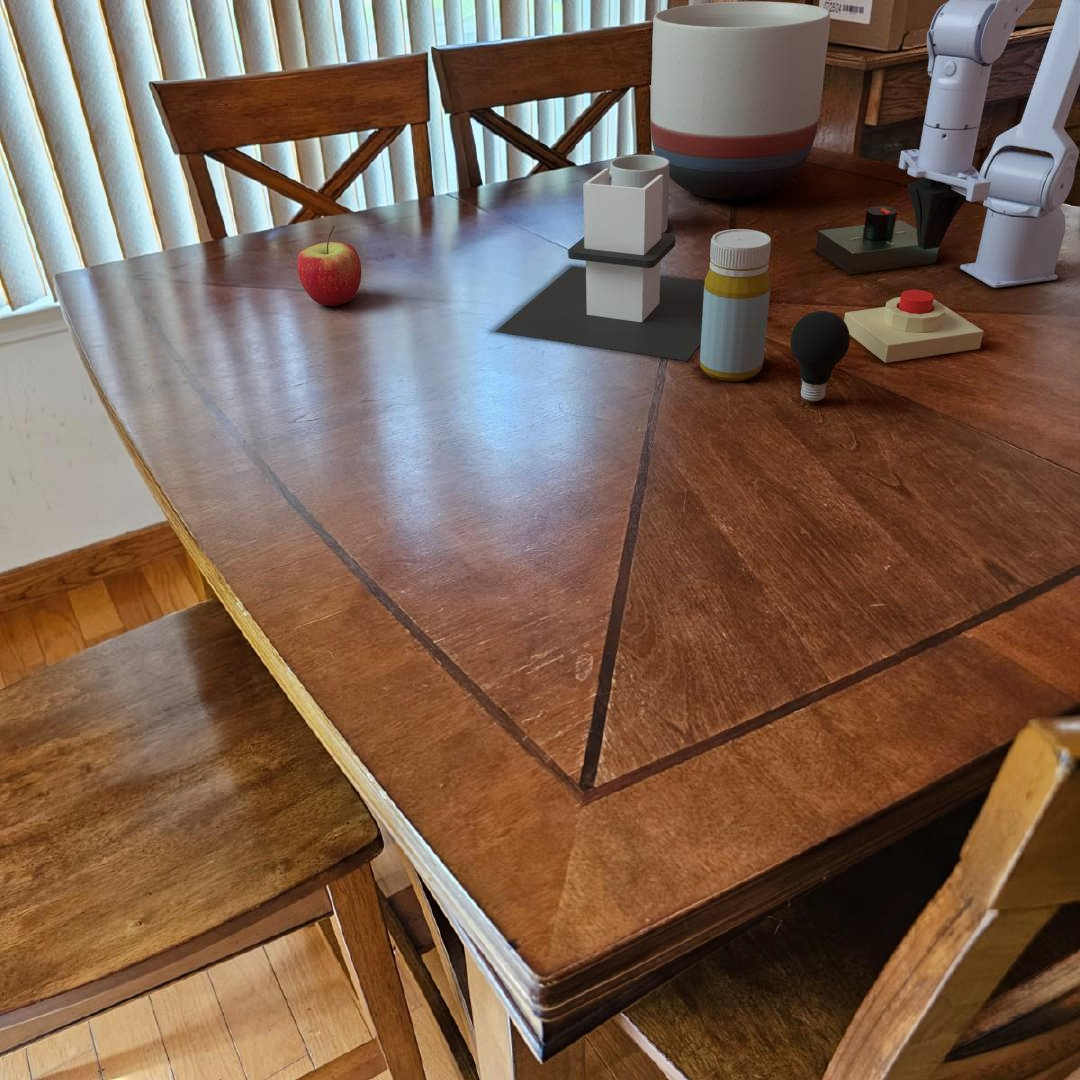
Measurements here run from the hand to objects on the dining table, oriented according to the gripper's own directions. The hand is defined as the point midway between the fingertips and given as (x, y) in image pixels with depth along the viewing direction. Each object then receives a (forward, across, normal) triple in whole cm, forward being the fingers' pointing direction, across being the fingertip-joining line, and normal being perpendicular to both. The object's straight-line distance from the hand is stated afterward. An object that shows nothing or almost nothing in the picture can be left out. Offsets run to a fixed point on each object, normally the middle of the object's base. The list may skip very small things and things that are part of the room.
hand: (928, 246), depth 115 cm
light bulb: (+9, +15, -21) cm, 28 cm away
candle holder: (+9, -16, -32) cm, 37 cm away
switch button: (+6, +4, -3) cm, 8 cm away
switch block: (+9, +4, -3) cm, 11 cm away
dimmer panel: (+9, -22, +7) cm, 25 cm away
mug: (+10, -46, -21) cm, 51 cm away
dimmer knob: (+6, -22, +7) cm, 24 cm away
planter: (+10, -58, 0) cm, 58 cm away
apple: (+9, -31, -68) cm, 75 cm away
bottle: (+9, +5, -26) cm, 28 cm away
